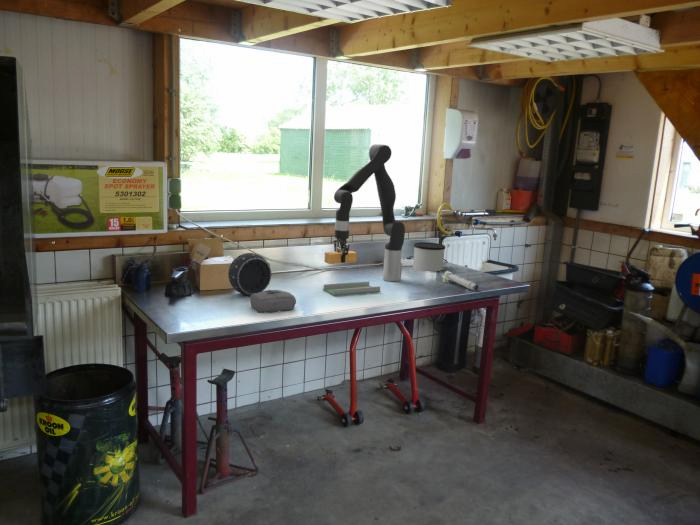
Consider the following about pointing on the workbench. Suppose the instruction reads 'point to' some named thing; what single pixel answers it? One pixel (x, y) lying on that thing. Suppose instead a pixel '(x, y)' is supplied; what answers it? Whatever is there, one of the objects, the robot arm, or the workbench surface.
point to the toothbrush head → (459, 281)
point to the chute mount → (350, 288)
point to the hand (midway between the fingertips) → (340, 261)
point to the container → (428, 256)
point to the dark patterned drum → (249, 274)
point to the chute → (339, 257)
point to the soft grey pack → (272, 301)
